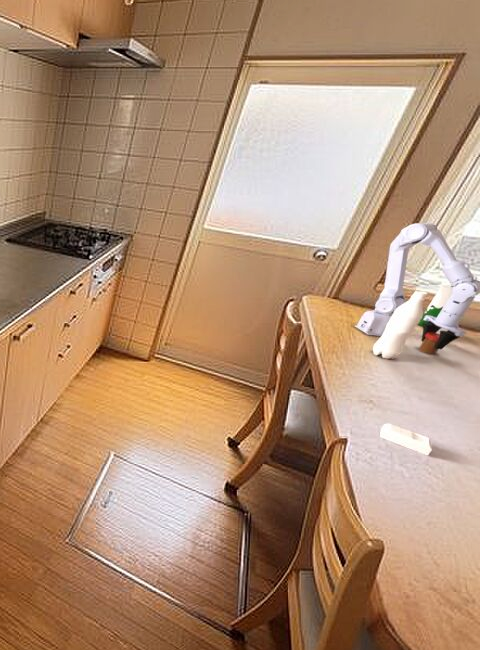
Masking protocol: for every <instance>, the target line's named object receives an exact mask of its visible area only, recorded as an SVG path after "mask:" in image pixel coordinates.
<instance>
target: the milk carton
mask: <svg viewBox="0 0 480 650" xmlns="http://www.w3.org/2000/svg"><path fill="white" fill-rule="evenodd" d="M439 287H440V288H439V289H438V291H437V292H436V294H435V295H434V296H433V298H432V299H431V302H430V303H429V305H428V306H427V308H426V309H425V311H424V312H423V316H422V319H420V321H419V322H418V324H417V326H421V327H423V325H422V324H423V323H424V322H425V323H427V322H428V321H425V320H423V319H424V318H425V316H426V315H429V316H433V317H436V318H437V316H438V315H439V313H440V312H441V310H442V308H443V307H444V305H445V304H446V302H447V301H448V299H449V298H450V297H451V295H452V294H453V293H452V288H453V287H454V286H453V285H451V284H446V285H443V286H439Z"/></svg>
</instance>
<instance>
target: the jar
mask: <svg viewBox="0 0 480 650" xmlns="http://www.w3.org/2000/svg"><path fill="white" fill-rule="evenodd" d="M421 342H422V341H421ZM436 343H437V342H436V341H433V340H430V339H428V338H425V339H424V341H423V342H422V343H421V344H420V345H419V347H418V350H419V351H420V352H422V353H425V354H427V355H437V353H438V351H439V350H440V349H435V348H434V347H435V345H436Z"/></svg>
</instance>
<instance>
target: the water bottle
mask: <svg viewBox="0 0 480 650" xmlns="http://www.w3.org/2000/svg"><path fill="white" fill-rule="evenodd" d="M427 295H428V292H426V291H423V290H415V291H414V292H413V294H412V295H411V296H410V298H409V299H408V300H406V303H404V304H402V305H401V306H399V307H398V308H397V309H396V310H395V311H394V313H393V315H392V317H391V318H390V320H389V322H388V323H387V326H386V328H385V331H384V333H383V334H382V336H379V339H378V340H377V341H376V342H375V343H374V344H373V348H372V349H373V350H372V351H373V355H375V356H379V355H381V358H382V359H386V360H389V359H391V360H393V359H396V358H397V357H398V356H399V355H400V353H402V349H403V348H404V344H405V342H406V341H407V339H408V338H409V337H410V335H411V334H412V333H413V332H414V330H415V329H416V327H417V326H418V324H419V322H420V320H421V319H422V316H423V315H424V309H423V302H424V301H425V299H426V297H427Z"/></svg>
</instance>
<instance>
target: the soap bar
mask: <svg viewBox="0 0 480 650" xmlns="http://www.w3.org/2000/svg"><path fill="white" fill-rule="evenodd" d="M380 438H381V439H384V440H386V441H388V442H391V443H394V444H397V445H399V446H402V447H404V448H406V449H409V450H412V451H414V452H416V453H419V454H422V455H424V456H427V457H428V456H429V455H430V453H431V452H432V450H433V449H432V448H433V447H432V441H431V439H430V438H429V437H427V436H424V435H422V434H419V433H416V432H413V431H411V430H409V429H405V428H402V427H401V426H397V425H394V424H393V423H384V424H383V426H382V427H381V428H380Z"/></svg>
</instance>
